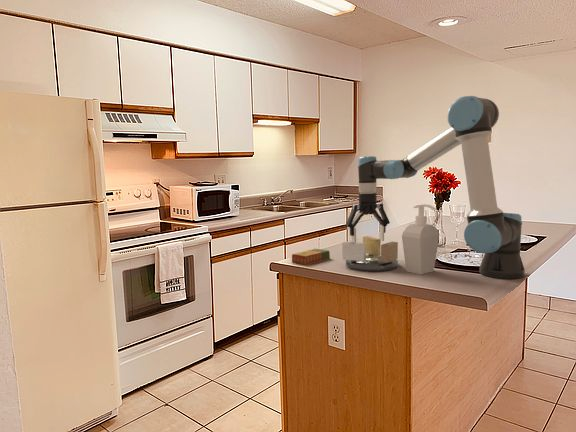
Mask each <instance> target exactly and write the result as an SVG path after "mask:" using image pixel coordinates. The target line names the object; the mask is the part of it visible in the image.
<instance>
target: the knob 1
mask: <svg viewBox="0 0 576 432" xmlns="http://www.w3.org/2000/svg"><path fill="white" fill-rule="evenodd" d="M341 244H342V245H341V246H342V250H341V251H342V260H345V261H346V260H351V262H357V261H365V260H366V255H367V253H366V243H363V242H357V241H356V242H352V241H343V242H342V243H341Z"/></svg>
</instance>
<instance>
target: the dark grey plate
mask: <svg viewBox="0 0 576 432" xmlns="http://www.w3.org/2000/svg"><path fill="white" fill-rule="evenodd" d="M345 267H346V268H348V269H350V270H353V271H358V272H359V271H360V272H366V271H368V273H380V272H381V273H382V272H389V271H394V270H397V269H398V267H399V261H398V259H396V260H393V261H392V263H384V262H381V255H379V256H369V254H366V260H365V261H357V262H351V260H345Z"/></svg>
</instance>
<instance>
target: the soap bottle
mask: <svg viewBox="0 0 576 432" xmlns="http://www.w3.org/2000/svg"><path fill="white" fill-rule="evenodd" d="M413 208H414V209H418V213H417V214H418V215H415V219H414V220H415V222H414V223H411V224H409V225H407V226H406V227H405V229H404V230H403V231H402V235H401V239H402V241H401V242H402V249H403V255H404V256H403V257H404V263H405V271H406V272H409V273H413V274H417V275H423V274H427V273H432V272H434V271H435V266H436V259H437V254H438V253H437V252H438V247H439V241H440V232H439V230H438V229H437V227H436V226H434V225H433V224H428V223H427V216H426V215H425V212H424V211H425V208H429V209H431V210H433V211H435V210H436V209H437V208H436V207H435V206H433V205H431V204H425V203H424V204H418V205H414V206H413Z"/></svg>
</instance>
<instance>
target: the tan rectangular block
mask: <svg viewBox="0 0 576 432" xmlns="http://www.w3.org/2000/svg"><path fill="white" fill-rule="evenodd" d="M398 244H399V242H398V241H389V242H386V243H383V244H380V256H381V262H384V263H392V261H393V260H398V256H399V255H398V254H399V249H398V248H399V247H398V246H399V245H398Z"/></svg>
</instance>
